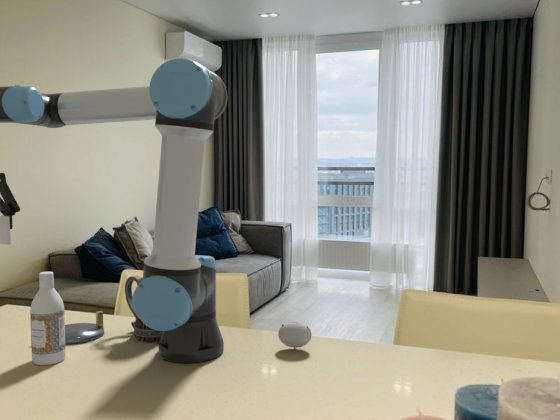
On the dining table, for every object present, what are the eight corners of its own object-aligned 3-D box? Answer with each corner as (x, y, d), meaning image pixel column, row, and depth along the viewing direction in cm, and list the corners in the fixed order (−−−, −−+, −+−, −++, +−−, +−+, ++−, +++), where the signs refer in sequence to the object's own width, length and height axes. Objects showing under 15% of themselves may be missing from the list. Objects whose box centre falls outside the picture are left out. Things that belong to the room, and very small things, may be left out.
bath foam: (24, 364, 116) (21, 274, 115) (47, 353, 123) (44, 268, 121) (50, 367, 114) (47, 276, 113) (72, 356, 121) (69, 270, 119)
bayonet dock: (113, 328, 142) (113, 309, 141) (87, 346, 128) (87, 325, 128) (64, 326, 144) (64, 307, 143) (34, 343, 130) (33, 322, 129)
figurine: (312, 346, 129) (313, 319, 128) (310, 355, 123) (310, 327, 122) (280, 344, 130) (280, 317, 129) (276, 353, 124) (276, 325, 123)
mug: (184, 333, 138) (184, 277, 136) (154, 345, 129) (154, 285, 127) (142, 324, 146) (141, 270, 145) (111, 334, 137) (110, 277, 136)
